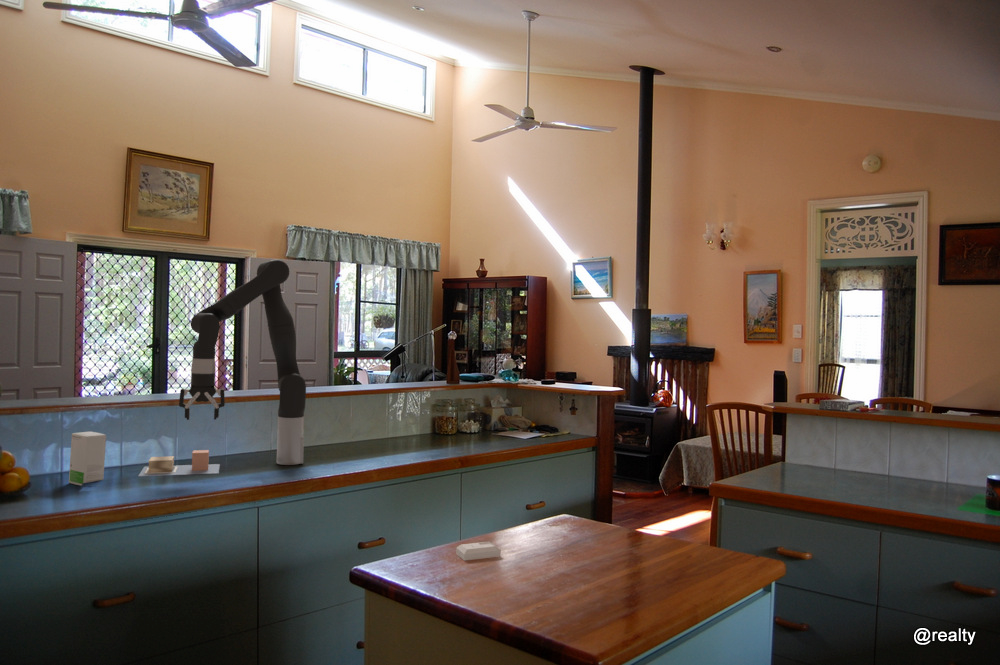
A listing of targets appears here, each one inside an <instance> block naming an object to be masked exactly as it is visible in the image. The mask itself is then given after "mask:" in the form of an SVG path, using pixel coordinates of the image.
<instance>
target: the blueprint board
mask: <svg viewBox="0 0 1000 665" xmlns="http://www.w3.org/2000/svg"><path fill="white" fill-rule="evenodd" d="M220 467H221V464H220V463H213V464H209V467H208V470H203V471H192V464H185V465H184V464H182V465H177V464H176V465H175V464H174V469H173V471H172V472H155V473H148V471H149V465H148V466H143V468H142V470H141V471H140V473H139V474H138V477H157V476H184V475H185V476H187V475H211V474H220Z"/></svg>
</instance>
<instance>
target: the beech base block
mask: <svg viewBox="0 0 1000 665" xmlns="http://www.w3.org/2000/svg"><path fill="white" fill-rule="evenodd" d="M148 466H149V471H148V473H155V472H172V471H173V469H174V466H175V456H173V455H172V456H170V455H169V456H151V457H150V458H149V460H148Z"/></svg>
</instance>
